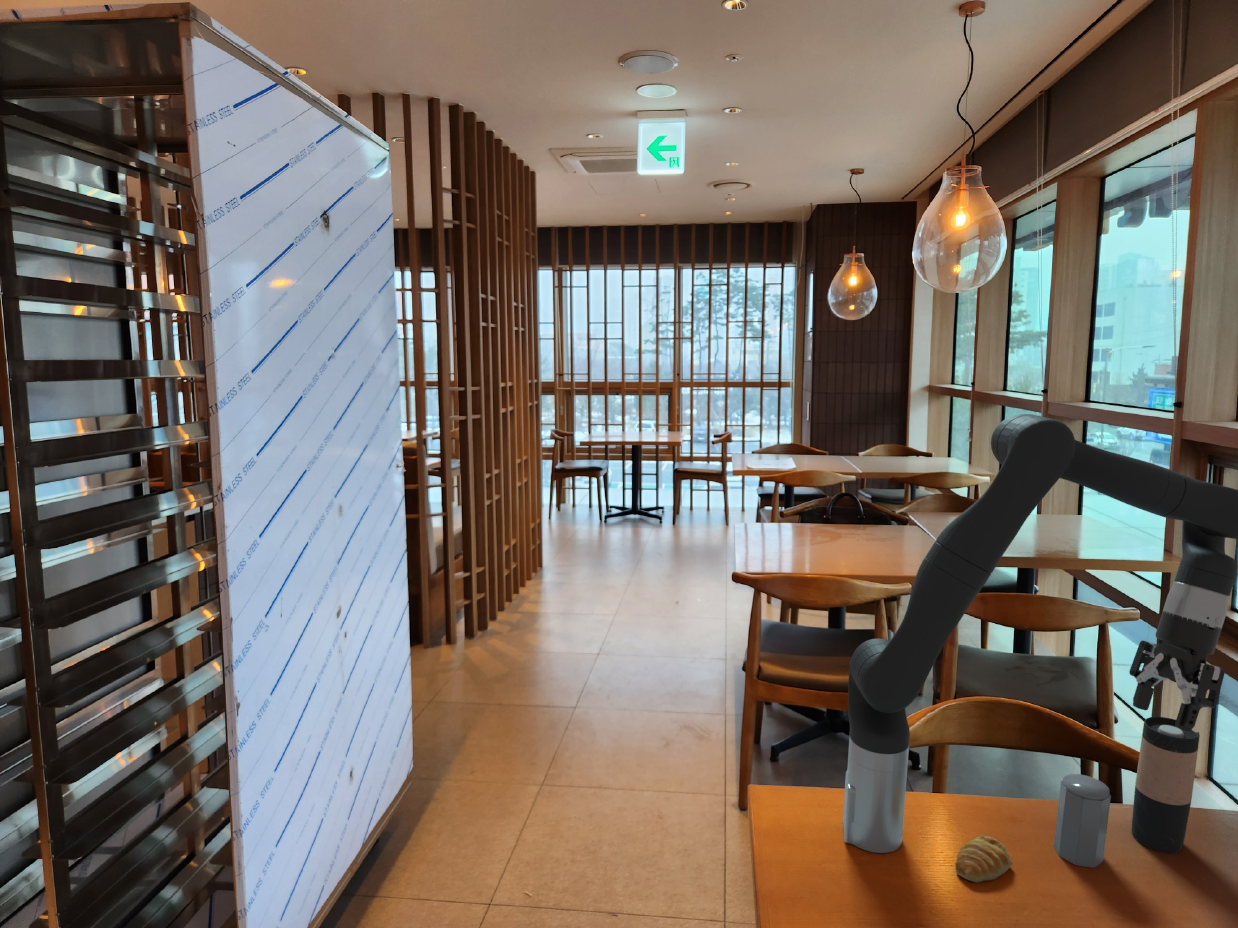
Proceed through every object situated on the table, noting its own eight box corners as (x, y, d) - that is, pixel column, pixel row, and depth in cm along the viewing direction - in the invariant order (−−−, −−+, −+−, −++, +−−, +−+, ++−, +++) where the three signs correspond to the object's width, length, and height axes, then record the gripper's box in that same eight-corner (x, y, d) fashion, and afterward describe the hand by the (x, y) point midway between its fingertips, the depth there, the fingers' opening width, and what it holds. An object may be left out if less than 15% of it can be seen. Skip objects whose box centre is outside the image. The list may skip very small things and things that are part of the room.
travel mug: (1124, 839, 132) (1138, 727, 129) (1134, 819, 137) (1148, 711, 134) (1180, 860, 127) (1196, 744, 123) (1188, 838, 132) (1204, 726, 129)
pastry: (985, 894, 119) (987, 870, 119) (942, 870, 124) (944, 848, 124) (1014, 868, 125) (1016, 845, 124) (972, 846, 130) (974, 825, 130)
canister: (1062, 863, 126) (1070, 793, 124) (1050, 838, 132) (1057, 771, 130) (1107, 869, 125) (1116, 799, 123) (1092, 843, 131) (1100, 776, 129)
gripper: (1136, 600, 128) (1106, 696, 128) (1209, 622, 114) (1175, 730, 114) (1177, 612, 129) (1147, 708, 129) (1255, 636, 115) (1221, 743, 115)
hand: (1160, 718), depth 122 cm, fingers open, 8 cm apart
